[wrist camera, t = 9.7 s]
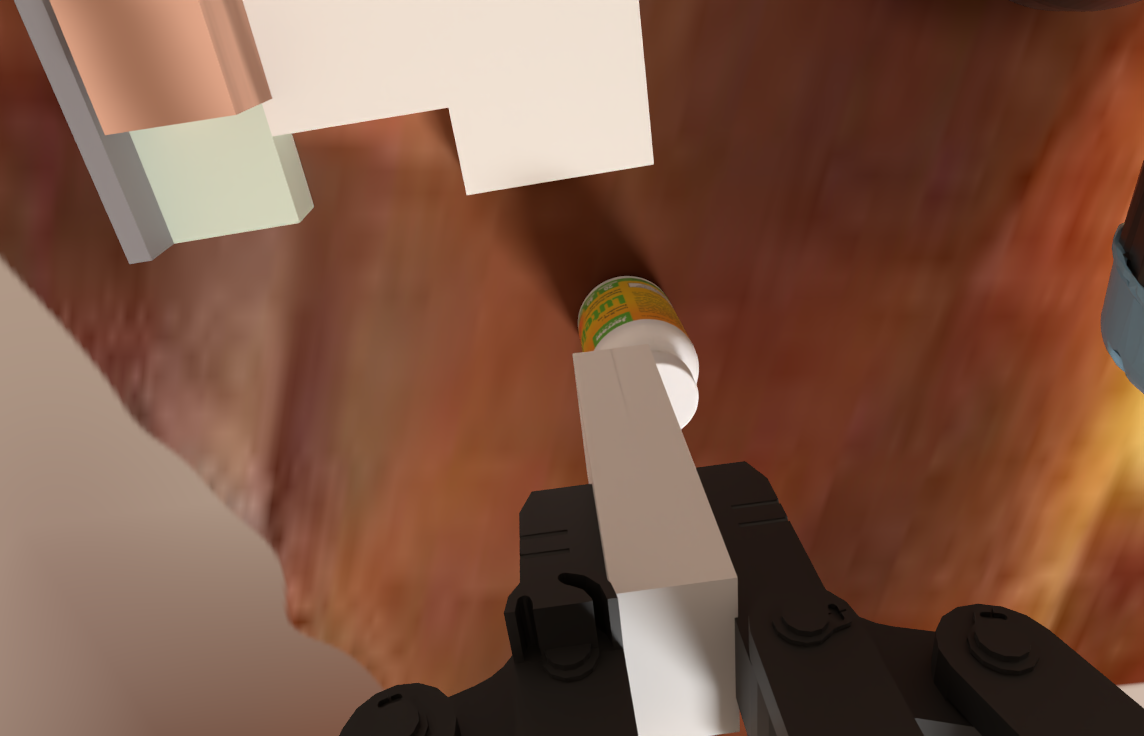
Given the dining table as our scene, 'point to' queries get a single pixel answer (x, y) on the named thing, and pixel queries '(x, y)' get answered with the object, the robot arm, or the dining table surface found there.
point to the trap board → (372, 106)
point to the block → (163, 60)
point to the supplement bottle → (643, 334)
